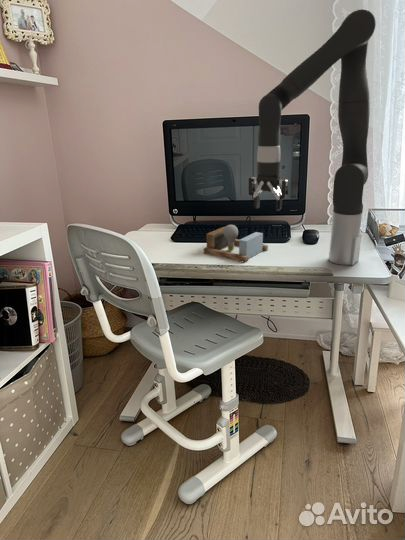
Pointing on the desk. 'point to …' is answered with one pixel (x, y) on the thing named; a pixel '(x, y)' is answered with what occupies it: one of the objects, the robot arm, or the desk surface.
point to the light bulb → (230, 235)
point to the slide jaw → (251, 244)
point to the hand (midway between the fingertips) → (267, 209)
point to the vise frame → (223, 246)
